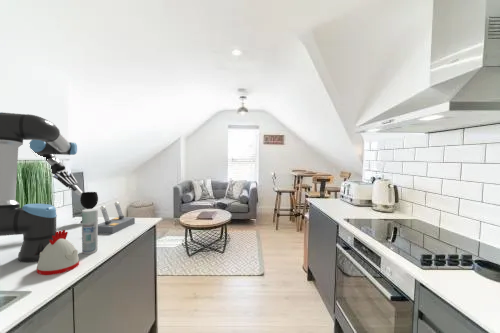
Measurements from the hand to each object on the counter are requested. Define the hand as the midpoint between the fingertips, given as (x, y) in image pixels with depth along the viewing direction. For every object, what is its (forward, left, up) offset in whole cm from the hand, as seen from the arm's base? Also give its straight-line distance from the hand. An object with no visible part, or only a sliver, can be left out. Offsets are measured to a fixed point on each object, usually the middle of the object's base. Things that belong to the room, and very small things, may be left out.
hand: (80, 193), depth 159 cm
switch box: (+7, -18, -22) cm, 30 cm away
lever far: (+14, -18, -18) cm, 29 cm away
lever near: (0, -18, -18) cm, 26 cm away
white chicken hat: (-51, -31, -22) cm, 64 cm away
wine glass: (+19, +9, -22) cm, 30 cm away
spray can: (-33, -31, -22) cm, 51 cm away
